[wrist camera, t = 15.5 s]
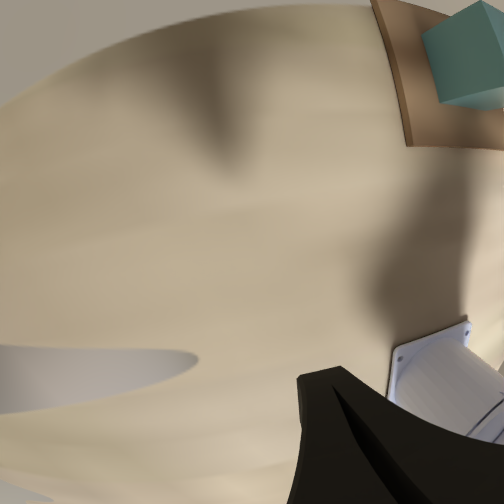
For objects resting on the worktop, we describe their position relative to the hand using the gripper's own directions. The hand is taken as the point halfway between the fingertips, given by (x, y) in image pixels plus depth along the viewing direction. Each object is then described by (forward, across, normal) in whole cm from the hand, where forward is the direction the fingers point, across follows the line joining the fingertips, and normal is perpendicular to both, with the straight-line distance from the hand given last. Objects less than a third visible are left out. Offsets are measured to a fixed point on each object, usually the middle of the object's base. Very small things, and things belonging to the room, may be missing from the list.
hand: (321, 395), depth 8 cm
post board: (+9, -15, -13) cm, 22 cm away
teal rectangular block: (+9, -15, -13) cm, 22 cm away
